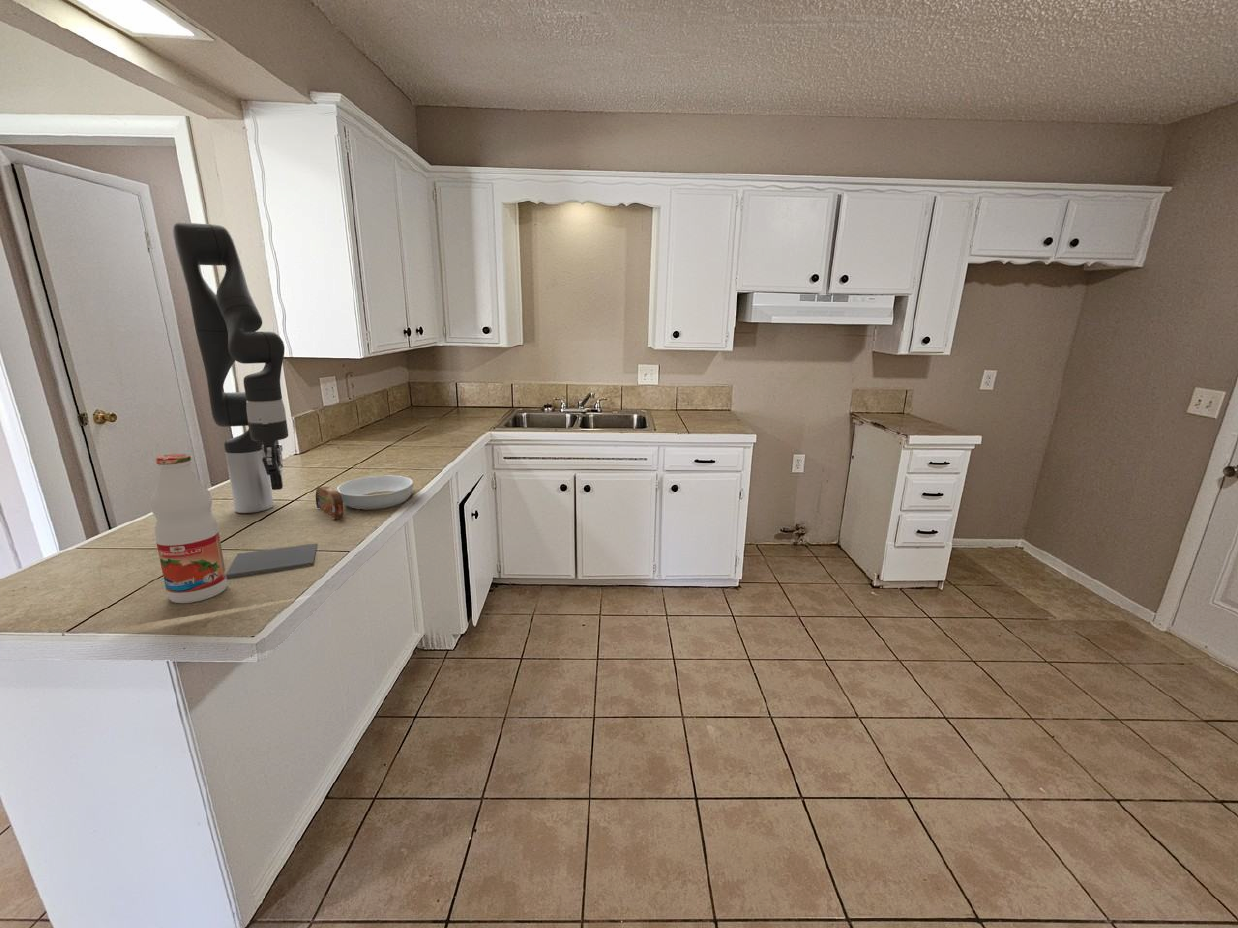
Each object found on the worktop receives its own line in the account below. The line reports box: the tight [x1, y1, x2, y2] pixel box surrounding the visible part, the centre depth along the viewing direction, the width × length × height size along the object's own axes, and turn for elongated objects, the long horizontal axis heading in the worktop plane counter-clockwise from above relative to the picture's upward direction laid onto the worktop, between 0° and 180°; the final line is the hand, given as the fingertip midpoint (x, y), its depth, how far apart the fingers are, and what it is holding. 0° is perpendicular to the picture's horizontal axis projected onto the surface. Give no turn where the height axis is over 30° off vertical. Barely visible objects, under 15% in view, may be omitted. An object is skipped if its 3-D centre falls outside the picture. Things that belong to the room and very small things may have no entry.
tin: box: [315, 486, 344, 521], centre depth 146 cm, size 15×3×8 cm, turn 47°
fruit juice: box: [149, 453, 228, 604], centre depth 100 cm, size 9×9×28 cm
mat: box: [226, 542, 318, 579], centre depth 118 cm, size 12×16×1 cm
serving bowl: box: [336, 474, 414, 511], centre depth 157 cm, size 21×21×7 cm
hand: (277, 488), depth 127 cm, fingers closed
